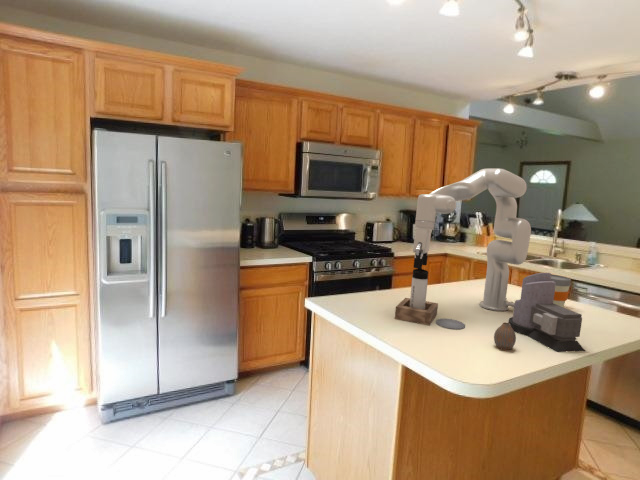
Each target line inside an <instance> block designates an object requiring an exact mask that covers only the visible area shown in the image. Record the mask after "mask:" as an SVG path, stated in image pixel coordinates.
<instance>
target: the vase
mask: <svg viewBox="0 0 640 480" xmlns="http://www.w3.org/2000/svg"><path fill="white" fill-rule="evenodd" d="M516 340H517V335H516V332H514V330H513V329H512V327H511V325H510V323H508V322H502V324H501V325H499V326H498V327H497V328H496V329H495V332H494V335H493V342H494V344H495V346H496V347H497V348H498V349H500V350H504V351H508V350H512V349H513V348H514V347H515V344H516Z"/></svg>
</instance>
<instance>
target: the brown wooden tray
mask: <svg viewBox="0 0 640 480" xmlns="http://www.w3.org/2000/svg"><path fill="white" fill-rule="evenodd" d="M438 307H439V303H438V302H433V301H427V300H426V303H425V310H423V309H417V308H412V307H410V298H409V297H404V299H403V300H401V301H400V303H398V304H397V305H396V306H395V310H394V311H395V313H394V319H395V320H400V321H406V322H410V323H415V324H421V325H427V326H430V325H431V324H432V323H433V321H434V319H435V318H436V317H437V315H438Z"/></svg>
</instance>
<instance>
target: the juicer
mask: <svg viewBox="0 0 640 480" xmlns="http://www.w3.org/2000/svg"><path fill="white" fill-rule="evenodd" d="M551 275H552V273H551V272H538V273H534V274H530V275H527V276H525V277H523V279H522V285H521V292H520V298H519V299H516V300H514V303H515V304H514V307H513V313H512V316H511V317H509V318H508V322H507V323H510V325H511V327H512V329H513V330H514V332H515V334H519V335H522V336H527V337H528V338H530V339H531V340H534V341H536V342H538V343H539V344H541V345H543V346H545V347H547V348H548V347H549V349H550V350H552V351H554V352H556V353H567V352H566V351H575V352H585V351H586V350H585V349H584V347H583V346H582V345H581V344H580V342H579V341H577V339H578V338H579V337H580V336H581V330H582V322H583V317H582V314H581V313H579V312H576V311H574V310H572V309H568V308H565V307H561V306H559V305H556V304H554V303H553V300H554V293H555V286H556V283H555V282H554V281H551Z"/></svg>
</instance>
